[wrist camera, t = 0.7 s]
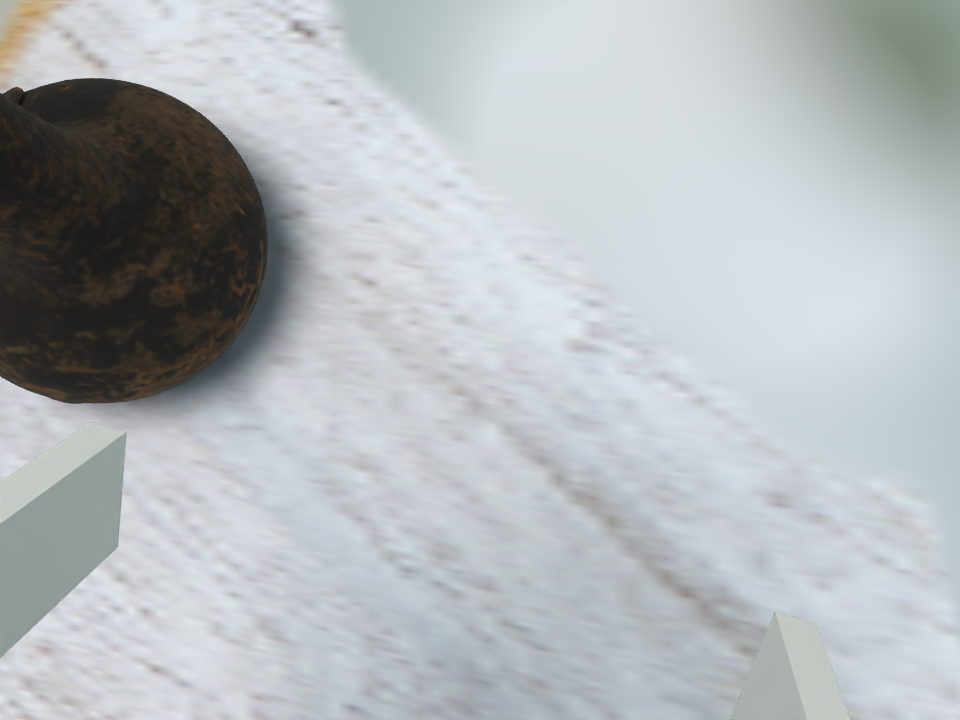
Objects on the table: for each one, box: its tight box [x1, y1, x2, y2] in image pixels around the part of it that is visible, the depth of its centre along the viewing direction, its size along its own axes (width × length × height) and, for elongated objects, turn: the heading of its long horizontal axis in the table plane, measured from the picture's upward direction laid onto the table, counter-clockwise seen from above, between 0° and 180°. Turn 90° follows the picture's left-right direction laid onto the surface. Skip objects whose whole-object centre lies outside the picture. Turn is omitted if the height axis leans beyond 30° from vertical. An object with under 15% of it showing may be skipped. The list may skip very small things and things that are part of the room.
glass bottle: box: [0, 78, 267, 404], centre depth 39 cm, size 18×18×28 cm
